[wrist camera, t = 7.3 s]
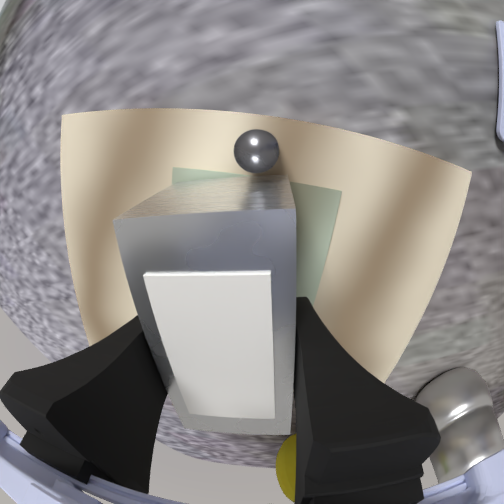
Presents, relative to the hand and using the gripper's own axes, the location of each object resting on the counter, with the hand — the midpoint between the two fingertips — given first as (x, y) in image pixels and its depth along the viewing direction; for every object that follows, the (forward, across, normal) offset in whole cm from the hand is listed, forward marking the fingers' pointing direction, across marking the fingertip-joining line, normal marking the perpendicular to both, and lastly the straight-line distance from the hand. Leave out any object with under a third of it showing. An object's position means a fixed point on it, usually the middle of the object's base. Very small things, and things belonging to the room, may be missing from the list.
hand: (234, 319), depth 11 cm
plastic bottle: (+4, -15, +11) cm, 19 cm away
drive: (+2, 0, 0) cm, 2 cm away
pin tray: (+4, 0, 0) cm, 4 cm away
